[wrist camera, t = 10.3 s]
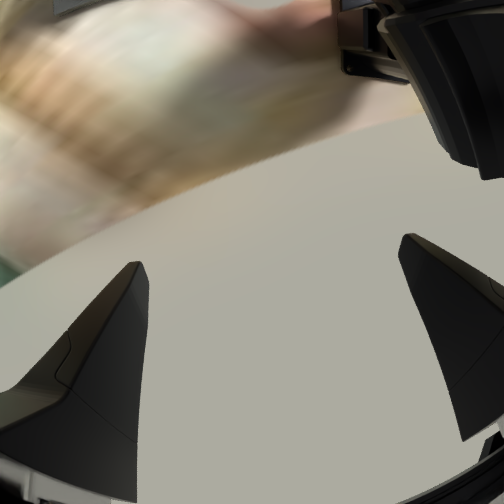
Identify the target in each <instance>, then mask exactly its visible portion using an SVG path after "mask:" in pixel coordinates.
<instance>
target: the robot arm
mask: <svg viewBox="0 0 504 504" xmlns="http://www.w3.org/2000/svg"><path fill="white" fill-rule="evenodd" d="M337 22H338V46H339V47H340V49H341V69H342V71H343V73H345V74H348V75H354V76H364V77H373V78H381V79H388V80H394V81H401V82H407V83H410V84H411V85H412V87H413V89H414V91H415V93H416V95H417V97H418V99H419V101H420V103H421V105H422V107H423V109H424V111H425V113H426V115H427V117H428V119H429V122H430V124H431V126H432V128H433V131H434V133H435V135H436V138H437V140H438V142H439V144H440V145H441V146H442V147H443V148H444V149H445V150H446V152H448V153H449V154H450V157H451V159H452V160H455V161H457V162H458V163H460V164H463V165H467V166H470V167H474V168H478V169H479V173H480V177H481V179H482V180H490V179H496V178H504V0H340V12H339V13H338V14H337ZM348 65H350V66H351V70H350V71H348V70H347V66H348ZM398 258H399V261H400V264H401V266H402V269H403V272H404V275H405V277H406V280H407V283H408V286H409V289H410V292H411V294H412V297H413V299H414V301H415V304H416V306H417V308H418V310H419V313H420V315H421V318H422V320H423V322H424V325H425V327H426V330H427V332H428V334H429V337H430V340H431V343H432V345H433V348H434V350H435V353H436V356H437V359H438V361H439V364H440V367H441V370H442V373H443V376H444V379H445V382H446V385H447V388H448V391H449V395H450V398H451V402H452V405H453V409H454V412H455V416H456V419H457V423H458V427H459V431H460V435H461V439H462V441H463V442H464V441H466V440H468V439H470V438H471V437H473V436H475V435H476V434H478V433H480V432H481V431H483V430H485V429H486V428H488V427H489V426H491V425H493V424H494V423H496V422H497V424H498V427H499V429H500V431H498V432H497V433H495V434H494V435H492V436H491V437H489V438H488V439H486V440H485V443H484V446H483V449H482V452H481V455H480V458H479V461H478V463H477V464H475V465H473V466H472V467H470V468H468V469H466V470H465V471H463V472H461V473H460V474H458V475H456V476H454V477H453V478H451V479H449V480H447V481H445V482H443V483H441V484H439V485H437V486H435V487H433V488H431V489H429V490H427V491H425V492H423V493H420V494H418V495H416V496H414V497H411V498H409V499H407V500H404V501H402V502H400V503H397V504H504V286H503V285H501V284H499V283H498V282H496V281H495V280H493V279H491V278H490V277H488V276H487V275H485V274H483V273H482V272H480V271H479V270H477V269H476V268H474V267H472V266H471V265H469V264H467V263H466V262H464V261H462V260H461V259H459V258H458V257H456V256H454V255H452V254H451V253H449V252H447V251H445V250H444V249H442V248H440V247H439V246H437V245H435V244H433V243H431V242H430V241H428V240H426V239H424V238H422V237H420V236H419V235H417V234H415V233H409V234H405V235H404V236H403V238H402V241H401V245H400V248H399V252H398ZM148 302H149V281H148V277H147V275H146V272H145V269H144V267H143V264H142V262H140V261H135V262H129V263H128V264H127V265H126V266H125V267H124V268H123V269H122V270H121V271H120V272H119V273H118V274H117V275H116V276H115V277H114V278H113V279H112V280H111V282H110V283H109V284H108V285H107V286H106V287H105V288H104V289H103V290H102V291H101V292H100V293H99V294H98V295H97V297H96V298H95V299H94V300H93V301H92V302H91V303H90V304H89V305H88V306H87V307H86V308H85V310H84V311H83V312H82V313H81V314H80V315H79V316H78V317H77V319H76V320H75V321H74V322H73V323H72V324H71V325H70V327H69V328H68V331H65V332H64V333H63V335H62V336H61V337H60V338H59V339H58V340H57V342H56V343H55V344H54V345H53V346H52V347H51V348H50V349H49V351H48V352H47V353H46V354H45V355H44V356H43V357H42V358H41V359H40V360H39V361H38V362H37V363H36V364H35V365H34V366H33V367H32V369H30V371H29V372H28V373H27V374H26V375H25V376H24V377H23V378H22V379H21V380H20V381H19V382H18V383H17V384H16V385H15V386H14V387H12V388H11V389H9V390H7V391H5V392H2V393H0V504H111V499H113V500H118V501H125V502H132V503H137V442H138V441H137V440H138V421H139V406H140V393H141V382H142V371H143V362H144V353H145V345H146V337H147V329H148Z"/></svg>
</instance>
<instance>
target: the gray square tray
mask: <svg viewBox="0 0 504 504" xmlns="http://www.w3.org/2000/svg"><path fill="white" fill-rule="evenodd" d="M99 1H102V0H53V6H54V16H62V15H64V14H67V13H69V12H72V11H74V10H77V9H79V8H82V7H85V6H87V5H90V4H93V3H96V2H99Z"/></svg>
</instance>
